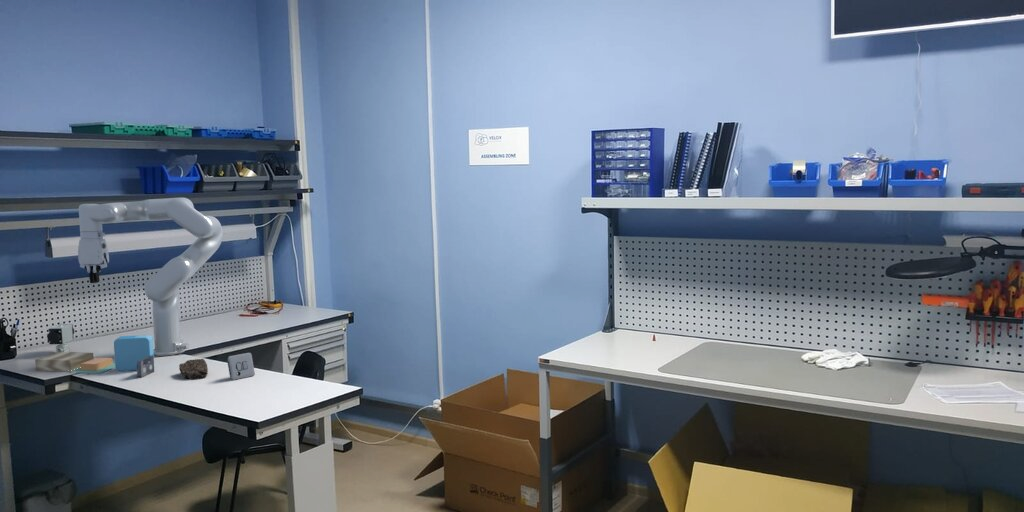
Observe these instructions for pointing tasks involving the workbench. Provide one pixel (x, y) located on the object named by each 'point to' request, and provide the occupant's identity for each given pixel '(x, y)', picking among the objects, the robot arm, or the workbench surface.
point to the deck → (62, 361)
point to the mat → (96, 370)
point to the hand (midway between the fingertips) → (94, 282)
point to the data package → (132, 351)
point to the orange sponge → (96, 364)
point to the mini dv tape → (145, 366)
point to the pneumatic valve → (61, 336)
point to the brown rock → (194, 369)
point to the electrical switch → (240, 366)
